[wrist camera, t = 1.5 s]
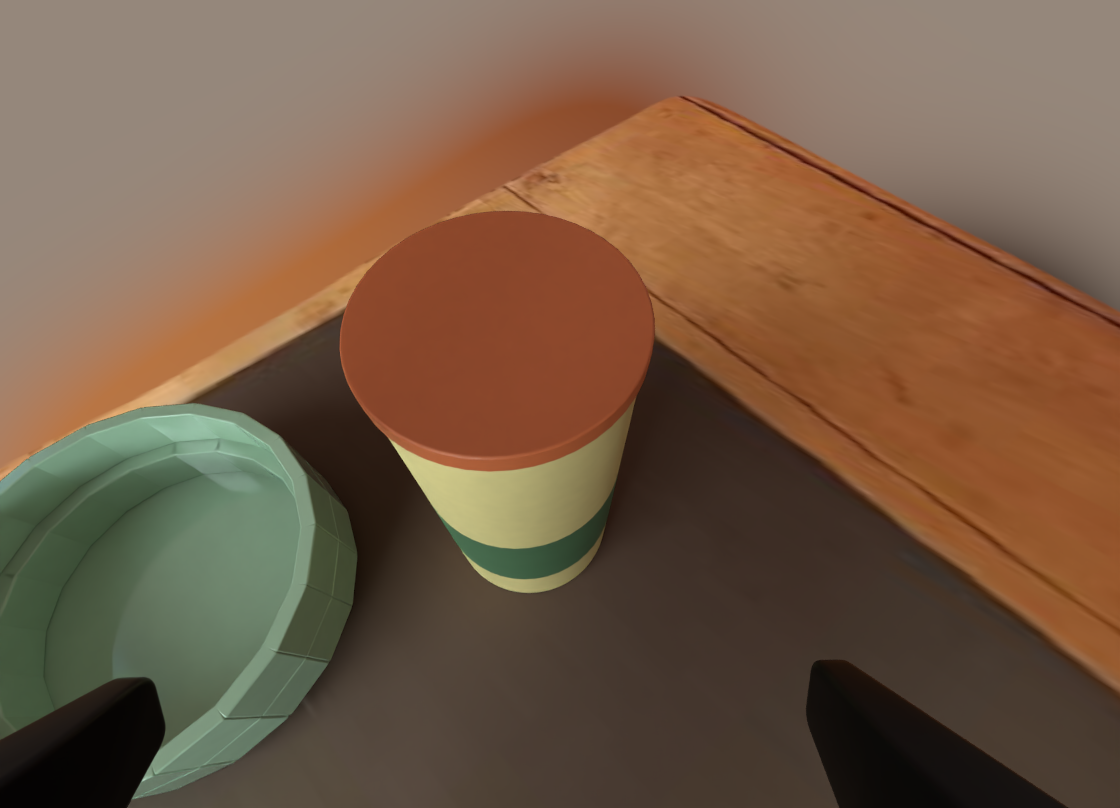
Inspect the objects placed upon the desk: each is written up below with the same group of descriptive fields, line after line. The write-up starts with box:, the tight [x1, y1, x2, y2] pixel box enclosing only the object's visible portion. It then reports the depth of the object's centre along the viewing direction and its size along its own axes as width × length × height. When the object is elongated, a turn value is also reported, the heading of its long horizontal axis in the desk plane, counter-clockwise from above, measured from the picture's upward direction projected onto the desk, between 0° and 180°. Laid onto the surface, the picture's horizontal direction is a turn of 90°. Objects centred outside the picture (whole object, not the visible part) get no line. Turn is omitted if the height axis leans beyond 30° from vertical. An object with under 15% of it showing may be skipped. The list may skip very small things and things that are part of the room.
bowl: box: [0, 403, 357, 800], centre depth 18 cm, size 12×12×4 cm
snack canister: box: [340, 211, 655, 593], centre depth 16 cm, size 6×6×13 cm
